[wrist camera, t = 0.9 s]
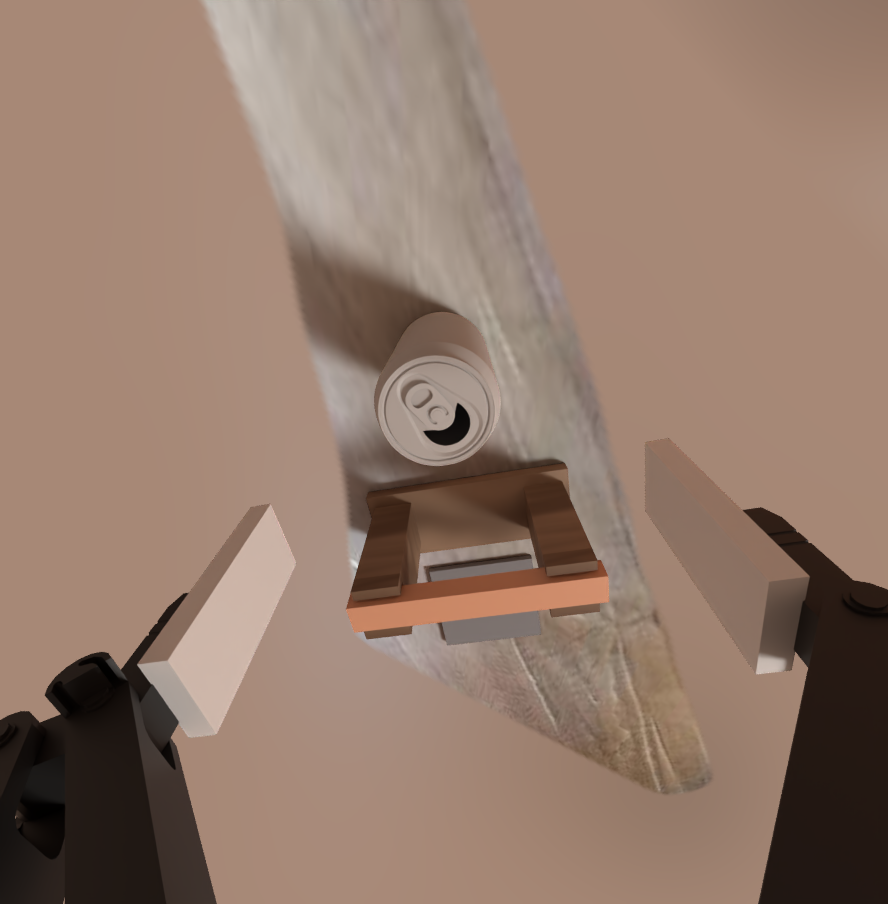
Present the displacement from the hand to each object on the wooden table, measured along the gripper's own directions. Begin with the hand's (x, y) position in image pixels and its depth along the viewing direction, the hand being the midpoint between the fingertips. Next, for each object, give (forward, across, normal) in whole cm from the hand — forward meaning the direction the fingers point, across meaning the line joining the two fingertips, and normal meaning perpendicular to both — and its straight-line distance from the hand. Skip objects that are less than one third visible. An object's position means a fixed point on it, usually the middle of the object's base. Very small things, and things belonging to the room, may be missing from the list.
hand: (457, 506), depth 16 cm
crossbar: (+9, -1, -12) cm, 15 cm away
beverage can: (+19, -1, +1) cm, 19 cm away
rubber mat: (+18, -1, -22) cm, 29 cm away
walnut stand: (+18, -1, -12) cm, 22 cm away
